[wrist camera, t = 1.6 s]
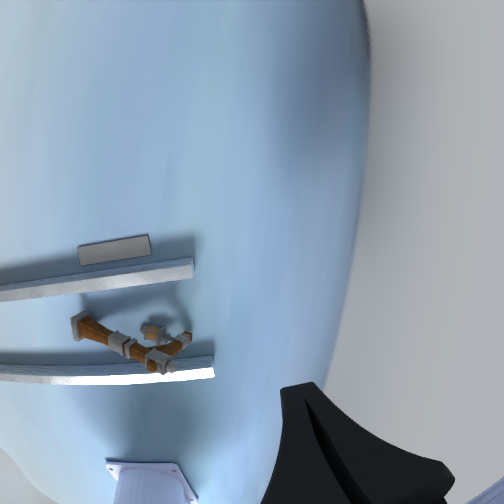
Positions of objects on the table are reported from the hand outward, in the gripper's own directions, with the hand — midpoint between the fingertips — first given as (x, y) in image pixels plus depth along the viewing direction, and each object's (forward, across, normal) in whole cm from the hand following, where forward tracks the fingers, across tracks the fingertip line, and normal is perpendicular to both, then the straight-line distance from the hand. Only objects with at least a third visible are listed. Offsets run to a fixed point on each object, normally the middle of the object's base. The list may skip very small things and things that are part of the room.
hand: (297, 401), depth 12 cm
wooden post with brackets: (+10, +9, 0) cm, 13 cm away
